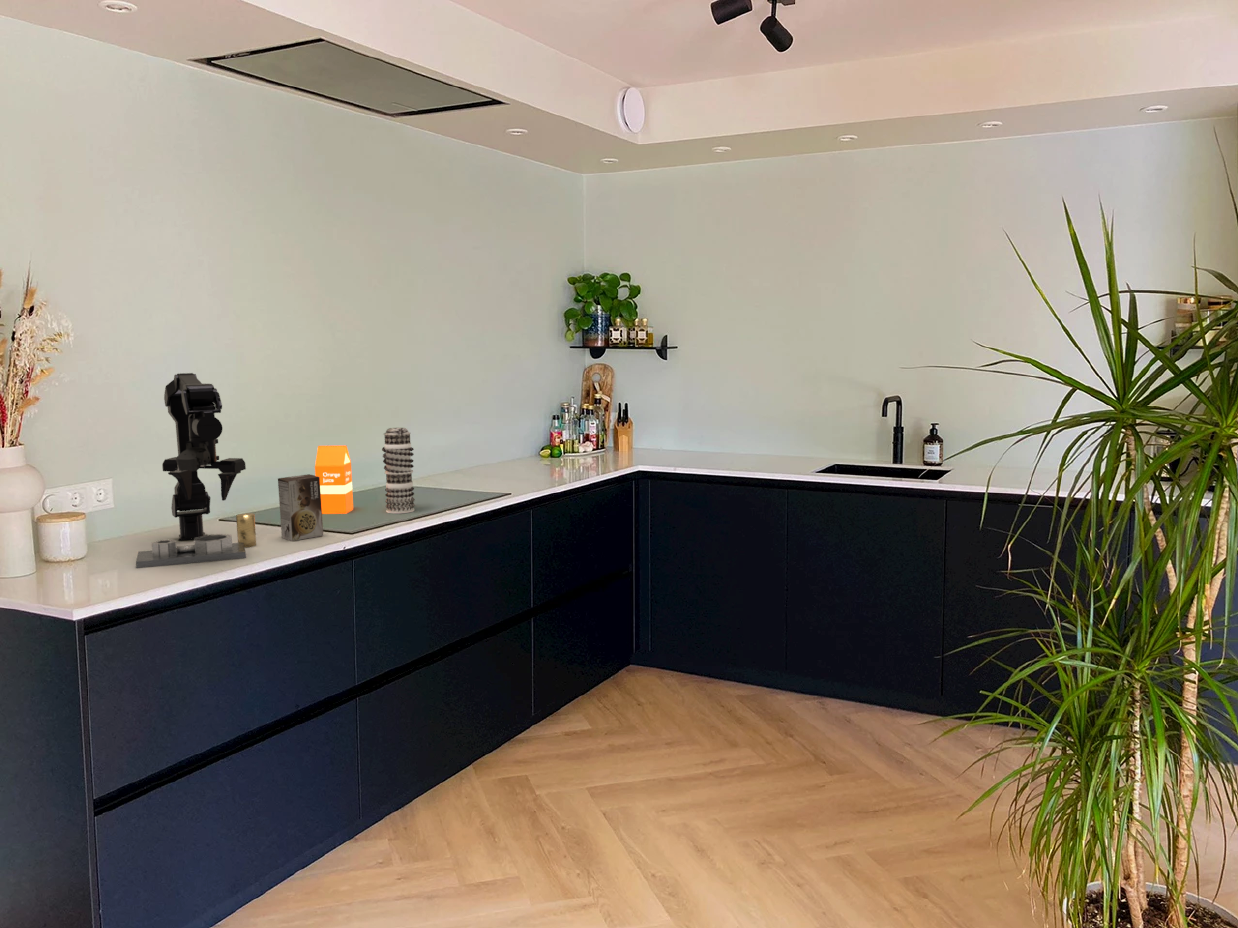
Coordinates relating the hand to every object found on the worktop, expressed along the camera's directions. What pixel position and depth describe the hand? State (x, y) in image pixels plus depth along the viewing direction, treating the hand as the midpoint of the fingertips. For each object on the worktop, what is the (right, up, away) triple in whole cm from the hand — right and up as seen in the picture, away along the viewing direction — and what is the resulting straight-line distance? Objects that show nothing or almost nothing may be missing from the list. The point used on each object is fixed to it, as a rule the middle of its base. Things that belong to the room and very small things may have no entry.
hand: (206, 499), depth 248 cm
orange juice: (+15, -6, +59) cm, 61 cm away
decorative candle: (+35, -6, +58) cm, 68 cm away
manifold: (-3, -14, -1) cm, 14 cm away
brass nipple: (+6, -12, +12) cm, 18 cm away
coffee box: (+17, -11, +22) cm, 30 cm away
